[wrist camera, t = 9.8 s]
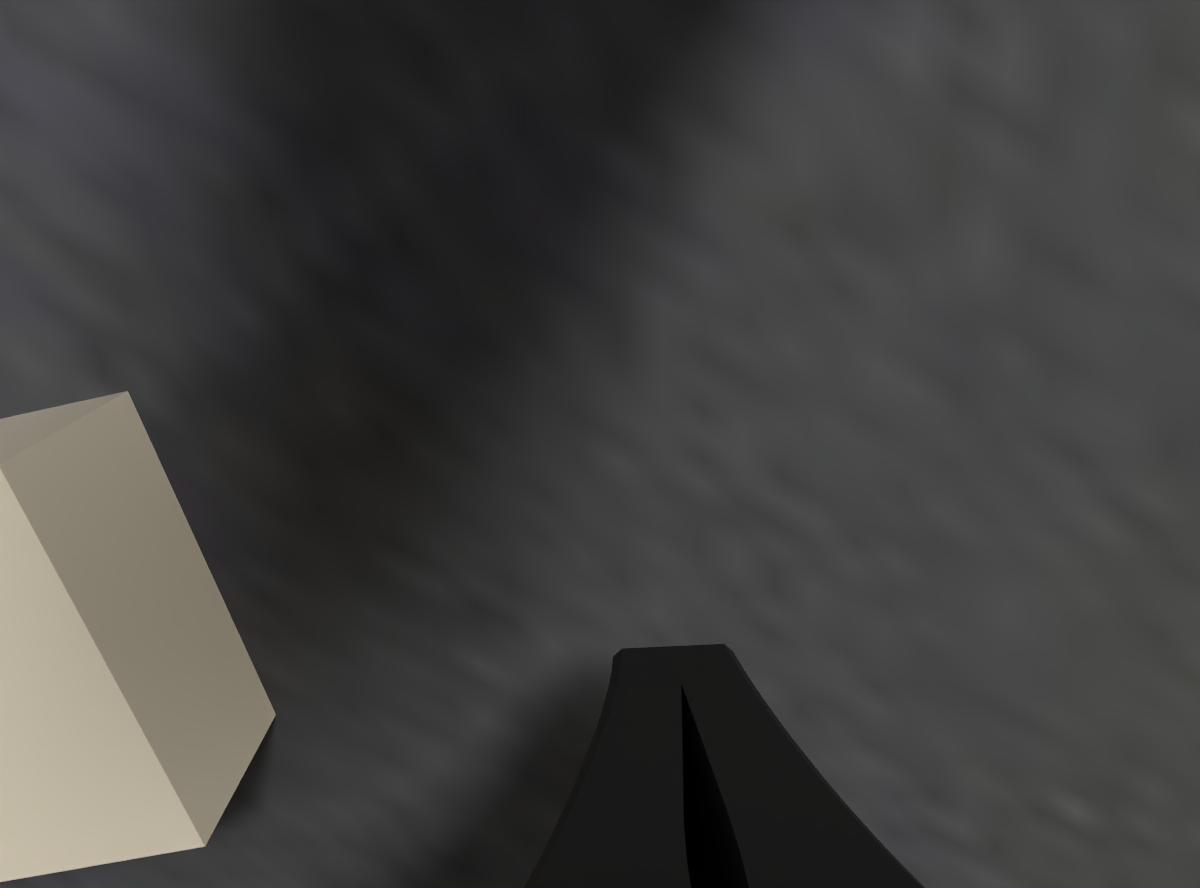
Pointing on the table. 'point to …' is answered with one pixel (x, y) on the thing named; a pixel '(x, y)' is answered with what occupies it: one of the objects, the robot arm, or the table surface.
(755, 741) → the robot arm
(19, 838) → the sand tile
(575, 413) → the table surface
